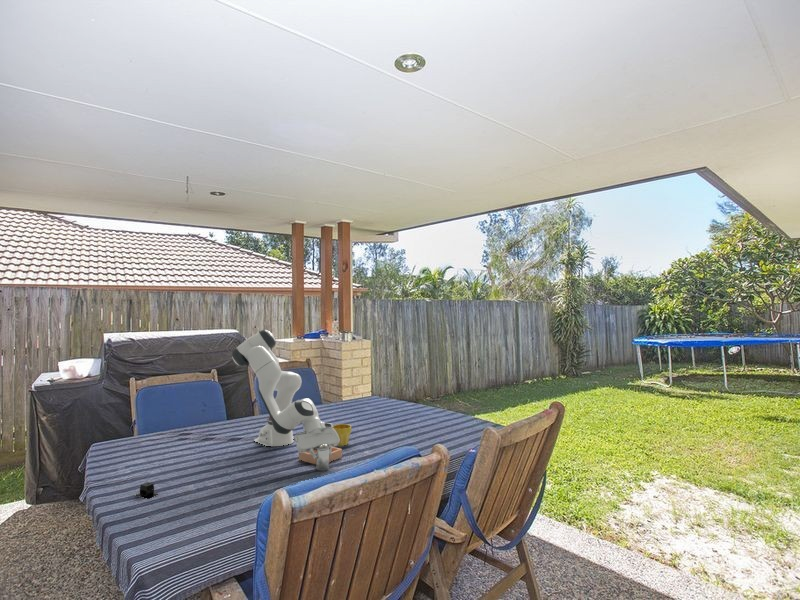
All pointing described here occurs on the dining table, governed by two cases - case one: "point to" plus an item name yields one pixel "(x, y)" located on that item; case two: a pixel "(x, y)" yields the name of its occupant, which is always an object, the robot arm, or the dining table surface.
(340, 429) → the plant pot
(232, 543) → the dining table surface
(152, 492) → the black block
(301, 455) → the terracotta bin
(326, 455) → the silver metal cylinder
